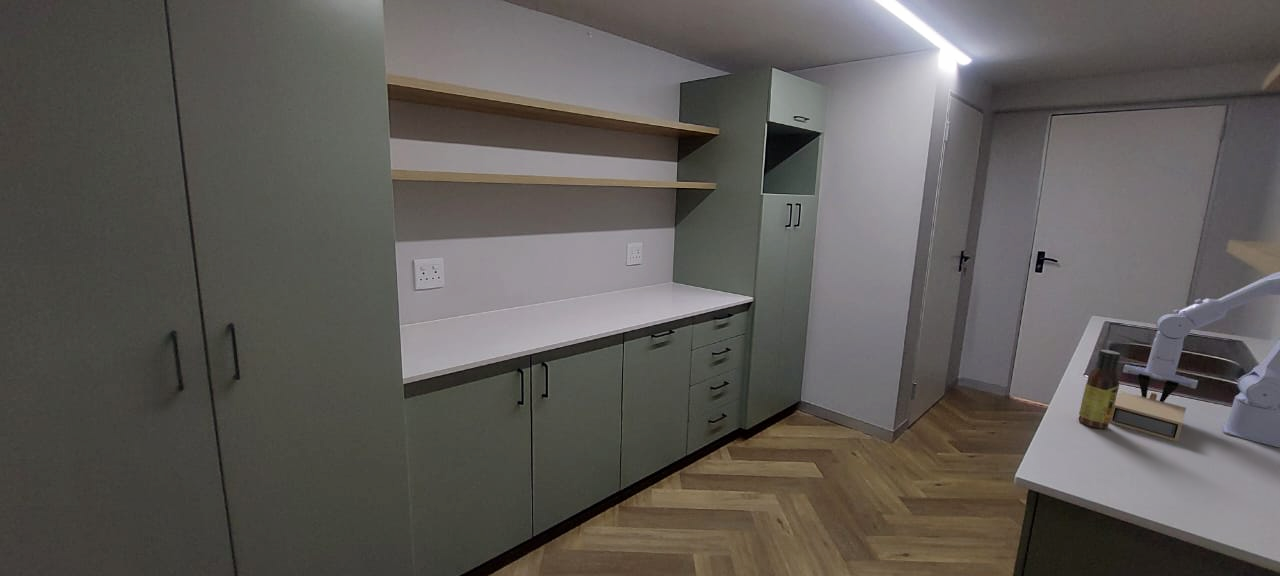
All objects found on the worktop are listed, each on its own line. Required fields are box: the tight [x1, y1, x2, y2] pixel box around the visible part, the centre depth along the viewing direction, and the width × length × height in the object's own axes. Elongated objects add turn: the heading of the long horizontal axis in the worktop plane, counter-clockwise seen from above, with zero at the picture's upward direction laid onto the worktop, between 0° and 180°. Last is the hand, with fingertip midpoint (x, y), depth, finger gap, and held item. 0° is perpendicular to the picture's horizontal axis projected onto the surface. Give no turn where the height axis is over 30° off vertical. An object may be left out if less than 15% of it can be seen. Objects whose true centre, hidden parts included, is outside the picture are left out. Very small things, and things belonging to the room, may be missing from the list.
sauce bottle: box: [1078, 349, 1121, 429], centre depth 135 cm, size 7×6×20 cm
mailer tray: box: [1114, 392, 1176, 437], centre depth 140 cm, size 20×11×4 cm, turn 132°
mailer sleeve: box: [1109, 391, 1187, 443], centre depth 138 cm, size 15×13×5 cm
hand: (1151, 403), depth 146 cm, fingers open, 3 cm apart
